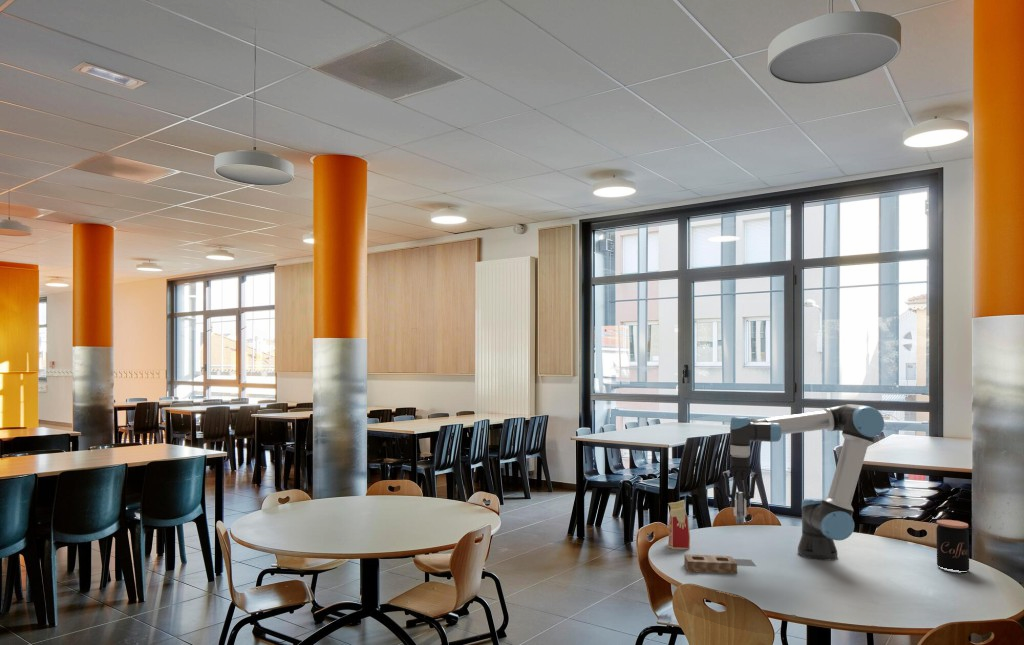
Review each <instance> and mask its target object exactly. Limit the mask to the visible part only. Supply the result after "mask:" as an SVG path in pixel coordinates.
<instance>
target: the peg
mask: <svg viewBox="0 0 1024 645" xmlns="http://www.w3.org/2000/svg"><path fill="white" fill-rule="evenodd" d="M735 498H736V499H737V516H735V523H736V524H739V525H744V524H745V517H744V499H745V495H744V491H736V496H735Z"/></svg>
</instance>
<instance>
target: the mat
mask: <svg viewBox="0 0 1024 645" xmlns="http://www.w3.org/2000/svg"><path fill="white" fill-rule="evenodd" d="M733 559H734V560H735V561H736V563H737V567H739V566H741V567H757V565H756V563H755V562H754V561H753V560H752V559H746V558H745V559H744V558H742V559H741V558H733Z"/></svg>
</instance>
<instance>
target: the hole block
mask: <svg viewBox="0 0 1024 645" xmlns="http://www.w3.org/2000/svg"><path fill="white" fill-rule="evenodd" d="M683 558H684V564H683V565H684V566H685V567H684V568H685V569H686V570H687V573H699V572H700V573H716V574H717V573H720V574H721V573H722V574H738V566H737V563H736V561H735V560H734V559H735V558H734V557H733V556H732V555H713V554H712V555H711V554H710V555H709V554H696V553H695V554H690V553H684V557H683Z"/></svg>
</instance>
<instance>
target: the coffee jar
mask: <svg viewBox="0 0 1024 645" xmlns="http://www.w3.org/2000/svg"><path fill="white" fill-rule="evenodd" d="M936 524H937V526H936V532H935V534H936V566H937V567H939V566H940V567H943V568H947V569H953V570H959V571H967V570H968V571H969V570H970V537H969V534H970V532H969V530H968V528H969V524H968V523H967V522H964V521H960V520H952V519H937V520H936ZM968 571H967V572H968Z"/></svg>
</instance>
